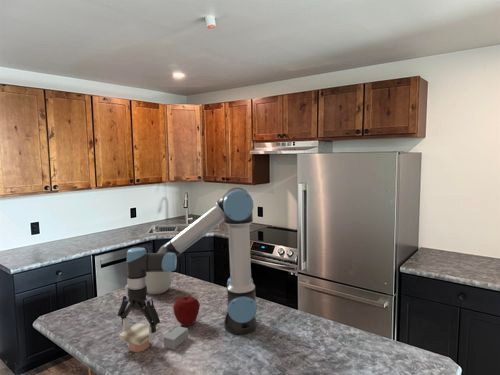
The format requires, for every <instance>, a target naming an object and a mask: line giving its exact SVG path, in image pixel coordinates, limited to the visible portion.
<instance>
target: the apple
mask: <svg viewBox="0 0 500 375" xmlns="http://www.w3.org/2000/svg"><path fill="white" fill-rule="evenodd" d="M200 306H201V304H200V302H199V300H198V299H197V298H196V297H194V296H191V295H186V296H185V295H184V296H181V297H178V298H177V299H176V300H175V302H174V305H173V307H172V309H173V314H174V317H175V319H176V320H177V322H178V323H179V324H181V325H182V326H184V327H185V326H190V325H193V323H195V322H196V321H197V318H198V315H199V312H200V311H199V310H200Z"/></svg>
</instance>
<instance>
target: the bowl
mask: <svg viewBox="0 0 500 375" xmlns="http://www.w3.org/2000/svg"><path fill="white" fill-rule="evenodd" d="M150 343H151V342H150V341H149V339H148V340H147V341H146V342H144V343H143V344H141V345H137V344H133V343H130V342H128V351H130V352H133V353H139V352H143V351H144V352H145V350H147V349H148V348H149V347H150V346H151V345H150Z"/></svg>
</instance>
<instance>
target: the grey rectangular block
mask: <svg viewBox="0 0 500 375" xmlns="http://www.w3.org/2000/svg"><path fill="white" fill-rule="evenodd" d="M188 338H189V328H187V327H185V326H184V327H183V326H177V327H176V328H173V330H171V331H170V332H169V333H167V334H166V335H164V336H163V347H166V348H168V349H172V350H175V349H176V348H177V347H179V346H180V345H181V344H182V343H183V342H185V340H187V339H188Z"/></svg>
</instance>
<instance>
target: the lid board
mask: <svg viewBox="0 0 500 375" xmlns="http://www.w3.org/2000/svg"><path fill="white" fill-rule="evenodd" d="M149 325H150V324H146V323H145V324H144V323H140V322H136V324H133V325H132V326H129V329H127V330H125V331H124V332H123V331H122V332H121V333H119V334H118V340H119V341H123V342H126V343H129V342H130V343H133V344H137V345H141V344H143V343H144V342H146V341H147V340H148V339H149ZM156 334H159V327H157V326H156V332H155V335H156Z"/></svg>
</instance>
